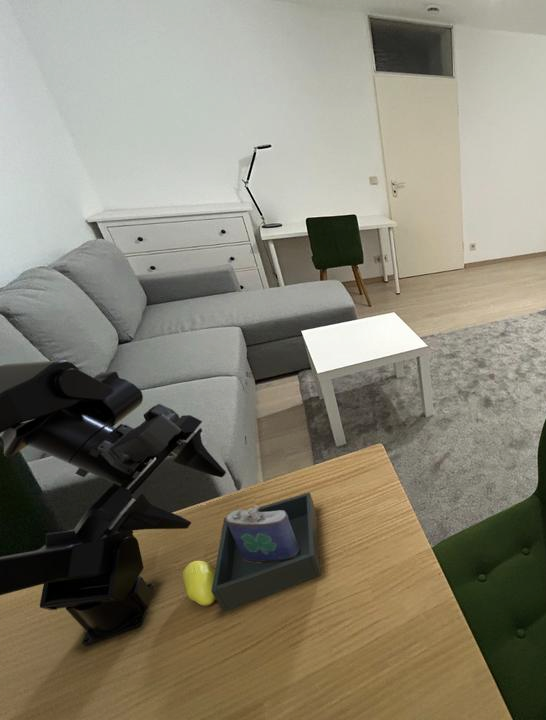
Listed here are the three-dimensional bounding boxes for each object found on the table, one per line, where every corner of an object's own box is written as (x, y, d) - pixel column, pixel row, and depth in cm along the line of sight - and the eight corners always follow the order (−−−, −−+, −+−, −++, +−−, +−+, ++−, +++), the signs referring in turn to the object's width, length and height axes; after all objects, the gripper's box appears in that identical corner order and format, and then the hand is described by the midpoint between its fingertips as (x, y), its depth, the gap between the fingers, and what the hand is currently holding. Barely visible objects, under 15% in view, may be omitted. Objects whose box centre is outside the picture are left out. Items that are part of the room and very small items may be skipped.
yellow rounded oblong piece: (185, 580, 60) (213, 563, 62) (198, 619, 55) (229, 599, 57) (174, 563, 58) (204, 546, 60) (187, 603, 53) (219, 582, 55)
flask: (303, 546, 64) (285, 500, 59) (295, 563, 61) (276, 517, 56) (247, 546, 64) (225, 501, 59) (237, 563, 62) (213, 517, 56)
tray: (223, 612, 56) (211, 591, 53) (233, 537, 66) (224, 517, 64) (320, 575, 60) (313, 555, 58) (316, 511, 71) (309, 491, 68)
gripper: (46, 459, 40) (196, 524, 46) (164, 368, 56) (264, 424, 62) (11, 516, 43) (155, 570, 49) (132, 414, 60) (229, 464, 65)
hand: (208, 498), depth 56 cm, fingers open, 9 cm apart
